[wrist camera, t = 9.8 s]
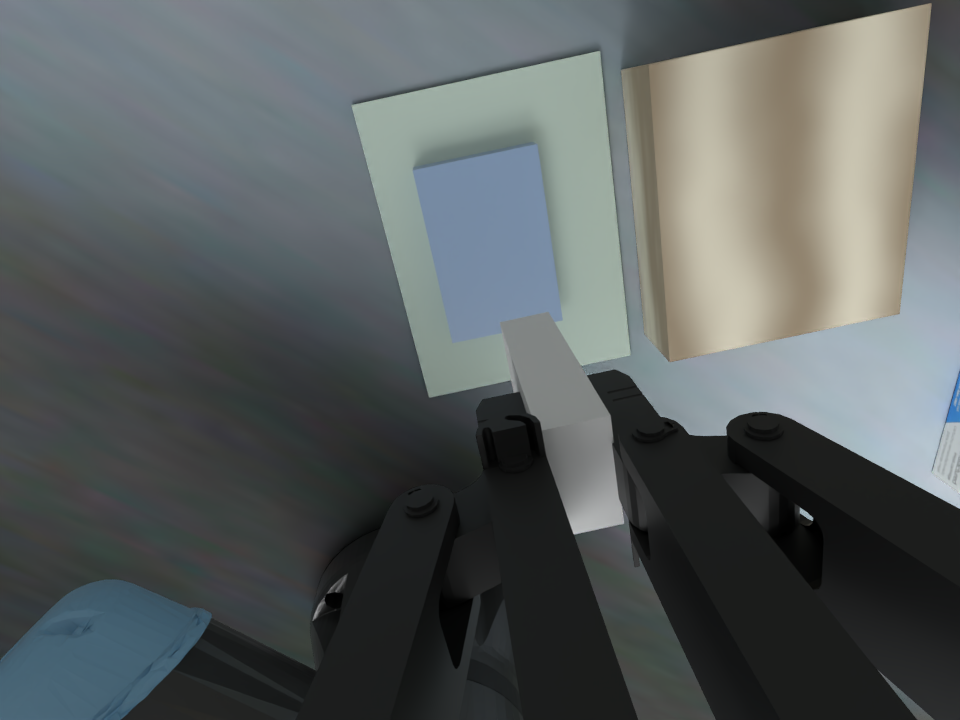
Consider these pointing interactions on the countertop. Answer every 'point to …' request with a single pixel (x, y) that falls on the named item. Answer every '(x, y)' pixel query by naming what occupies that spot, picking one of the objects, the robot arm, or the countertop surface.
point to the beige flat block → (775, 182)
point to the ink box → (950, 446)
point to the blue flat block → (489, 238)
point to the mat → (568, 193)
